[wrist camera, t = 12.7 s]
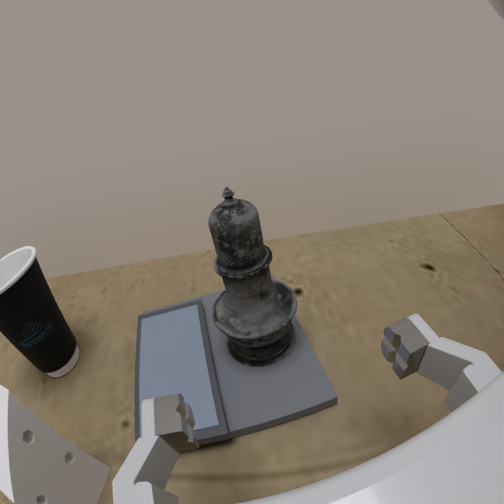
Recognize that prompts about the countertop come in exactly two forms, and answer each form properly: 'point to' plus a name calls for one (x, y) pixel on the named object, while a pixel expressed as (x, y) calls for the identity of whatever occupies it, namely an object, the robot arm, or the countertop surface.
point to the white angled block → (43, 460)
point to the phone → (180, 367)
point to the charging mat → (266, 381)
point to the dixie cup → (34, 315)
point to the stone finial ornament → (249, 288)
